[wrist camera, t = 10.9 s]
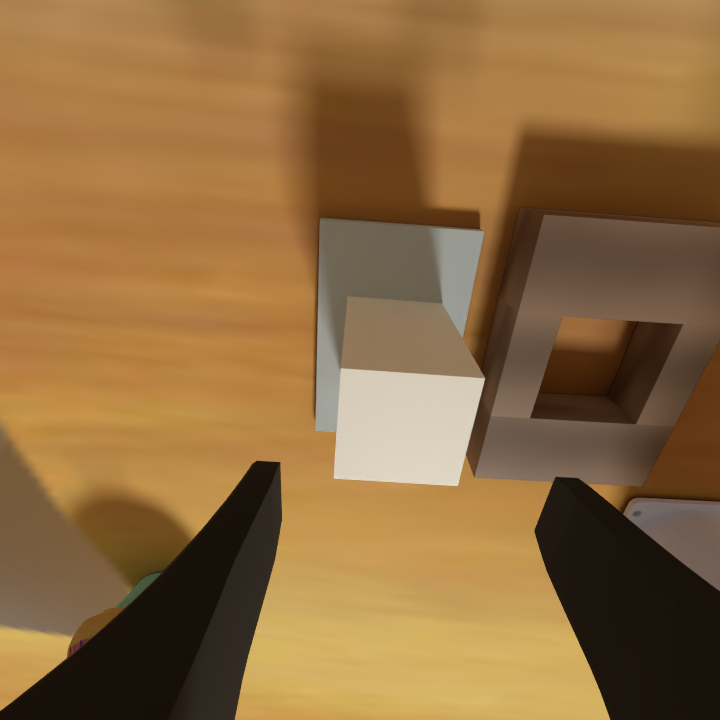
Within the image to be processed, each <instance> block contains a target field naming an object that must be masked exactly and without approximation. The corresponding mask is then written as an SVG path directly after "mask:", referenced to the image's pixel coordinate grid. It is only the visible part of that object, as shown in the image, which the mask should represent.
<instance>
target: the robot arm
mask: <svg viewBox="0 0 720 720" xmlns="http://www.w3.org/2000/svg"><path fill="white" fill-rule="evenodd" d="M281 521H282V504H281V472H280V462H268V461H256V462H254V463H253V464H252V465H251V467H250V468H249V470H248V471H247V473H246V474H245V475H244V477H243V478H242V480H241V481H240V482H239V484H238V485H237V486H236V488H235V489H234V490H233V492H232V493H231V494H230V495H229V497H228V498H227V499H226V501H225V502H224V503H223V504H222V506H221V507H220V508H219V509H218V510H217V512H216V513H215V514H214V515H213V517H212V518H211V519H210V520H209V521H208V523H207V524H206V525H205V526H204V527H203V529H202V530H201V531H200V532H199V533H198V534H197V535H196V536H195V538H194V539H193V540H192V541H191V542H190V543H189V544H188V545H187V546H186V547H185V549H184V550H183V551H182V552H181V553H180V554H179V555H178V556H177V557H176V558H175V559H174V561H173V562H172V563H171V564H170V565H169V566H168V567H167V568H166V569H165V570H164V571H163V572H162V573H161V574H160V575H159V576H158V577H157V578H156V579H155V580H154V581H153V582H152V583H151V584H150V585H149V586H148V587H147V588H146V589H145V590H144V591H143V592H142V593H141V594H139V595H138V596H137V597H136V598H135V599H134V600H133V601H132V602H131V603H130V604H129V605H128V606H127V607H126V608H125V609H123V610H122V611H121V612H120V613H119V614H118V615H117V616H116V617H114V618H113V619H112V620H111V621H110V622H109V623H108V624H107V625H106V626H104V627H103V628H102V629H101V630H100V631H99V632H98V633H97V634H95V635H94V636H93V637H92V638H91V639H90V640H88V641H87V642H86V643H85V644H84V645H83V646H81V647H80V648H79V649H78V650H77V651H75V652H74V653H73V654H72V655H71V656H69V657H68V658H67V659H66V660H64V661H63V662H62V663H61V664H59V665H58V666H57V667H56V668H54V669H53V670H52V671H51V672H49V673H48V674H47V675H46V676H44V677H43V678H42V679H40V680H39V681H38V682H37V683H35V684H34V685H33V686H32V687H30V688H29V689H28V690H27V691H25V692H24V693H23V694H22V695H20V696H19V697H18V698H17V699H15V700H14V701H13V702H12V703H10V704H9V705H8V706H6V707H5V708H4V709H2V710H1V711H0V720H235V715H236V710H237V705H238V700H239V694H240V689H241V684H242V679H243V675H244V671H245V667H246V663H247V658H248V654H249V651H250V647H251V644H252V640H253V636H254V633H255V629H256V626H257V622H258V619H259V615H260V611H261V608H262V604H263V601H264V597H265V594H266V590H267V586H268V583H269V579H270V575H271V572H272V568H273V565H274V561H275V556H276V551H277V545H278V539H279V533H280V527H281ZM535 535H536V538H537V542H538V545H539V548H540V552H541V555H542V558H543V561H544V564H545V567H546V570H547V572H548V575H549V577H550V579H551V582H552V584H553V586H554V588H555V591H556V593H557V595H558V597H559V600H560V602H561V604H562V606H563V609H564V611H565V613H566V615H567V617H568V620H569V622H570V624H571V626H572V628H573V630H574V633H575V635H576V637H577V639H578V641H579V644H580V646H581V648H582V650H583V652H584V655H585V657H586V659H587V661H588V663H589V666H590V668H591V670H592V673H593V675H594V677H595V680H596V682H597V685H598V687H599V689H600V692H601V695H602V697H603V700H604V703H605V706H606V709H607V711H608V714H609V717H610V720H720V502H713V501H694V500H674V499H655V498H634V499H632V500H631V501H630V502H629V504H628V506H627V508H626V509H625V511H624V513H623V514H622V513H621V512H620V511H619V510H617V509H616V508H615V507H614V506H613V505H611V504H610V503H609V502H608V501H607V500H605V499H604V498H603V497H602V496H600V495H599V494H598V493H597V492H596V491H594V490H593V489H592V488H591V487H589V486H588V485H587V484H586V483H584V482H583V481H582V480H580V479H579V478H570V477H555V479H554V482H553V484H552V487H551V489H550V492H549V495H548V497H547V500H546V502H545V505H544V507H543V510H542V513H541V515H540V518H539V520H538V523H537V525H536V528H535Z"/></svg>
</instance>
